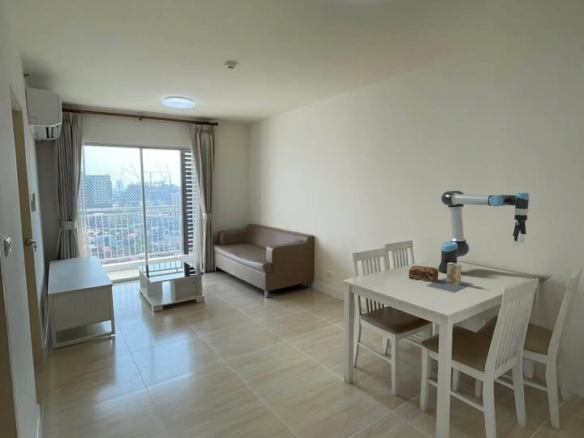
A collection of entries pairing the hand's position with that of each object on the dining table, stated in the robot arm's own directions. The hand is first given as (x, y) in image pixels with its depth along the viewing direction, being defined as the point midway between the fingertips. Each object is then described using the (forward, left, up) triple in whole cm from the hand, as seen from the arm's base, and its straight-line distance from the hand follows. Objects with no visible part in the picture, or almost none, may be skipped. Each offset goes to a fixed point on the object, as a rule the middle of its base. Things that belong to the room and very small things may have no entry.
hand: (518, 244), depth 240 cm
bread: (-47, -44, -28) cm, 70 cm away
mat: (-27, -44, -27) cm, 58 cm away
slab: (-27, -39, -27) cm, 54 cm away
